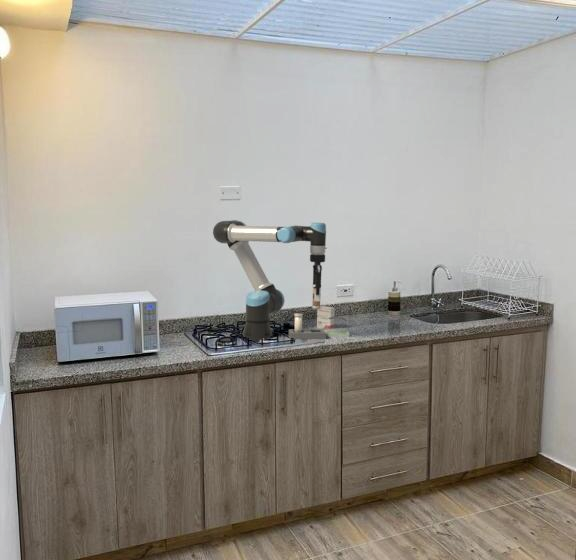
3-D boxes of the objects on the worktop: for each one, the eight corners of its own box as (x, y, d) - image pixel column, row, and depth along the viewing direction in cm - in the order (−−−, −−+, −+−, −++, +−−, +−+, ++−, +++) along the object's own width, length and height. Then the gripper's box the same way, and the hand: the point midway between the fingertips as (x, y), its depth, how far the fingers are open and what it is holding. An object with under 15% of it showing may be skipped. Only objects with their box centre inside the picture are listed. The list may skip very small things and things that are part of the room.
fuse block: (290, 341, 299) (290, 333, 299) (288, 336, 308) (288, 329, 308) (325, 340, 301) (326, 333, 300) (323, 336, 310) (323, 329, 309)
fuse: (294, 338, 302) (294, 314, 300) (293, 336, 306) (294, 312, 304) (302, 337, 302) (303, 314, 300) (301, 336, 306) (302, 312, 304)
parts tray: (326, 338, 306) (326, 333, 305) (323, 334, 315) (324, 329, 314) (349, 338, 307) (349, 333, 306) (346, 334, 316) (346, 329, 315)
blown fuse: (312, 309, 300) (313, 285, 299) (311, 307, 305) (312, 284, 303) (320, 309, 301) (321, 285, 299) (319, 307, 305) (320, 284, 303)
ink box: (334, 328, 329) (335, 307, 327) (330, 330, 325) (330, 308, 323) (320, 326, 334) (321, 305, 332) (316, 328, 329) (316, 306, 328)
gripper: (327, 255, 291) (326, 303, 294) (322, 252, 308) (321, 297, 311) (312, 255, 290) (311, 303, 293) (308, 252, 307) (306, 297, 310)
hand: (316, 300), depth 302 cm, fingers closed on blown fuse, 4 cm apart
